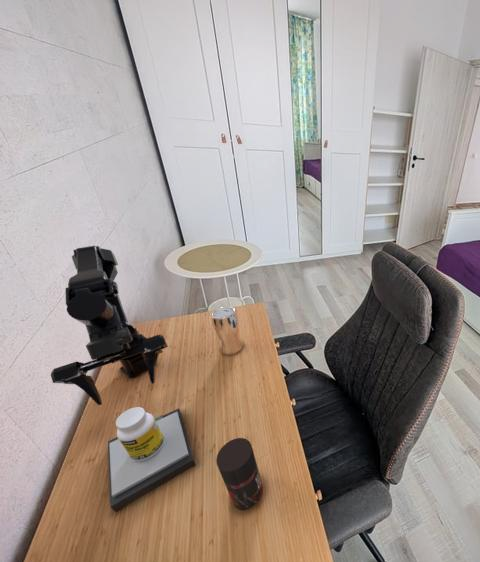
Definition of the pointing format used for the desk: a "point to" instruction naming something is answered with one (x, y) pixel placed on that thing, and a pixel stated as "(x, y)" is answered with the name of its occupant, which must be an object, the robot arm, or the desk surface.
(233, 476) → the deodorant
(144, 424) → the pill bottle
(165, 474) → the kitchen scale
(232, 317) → the beer glass
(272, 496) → the desk surface
